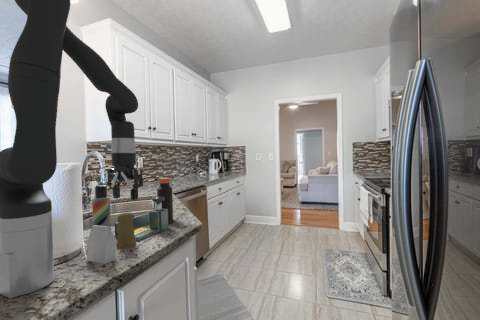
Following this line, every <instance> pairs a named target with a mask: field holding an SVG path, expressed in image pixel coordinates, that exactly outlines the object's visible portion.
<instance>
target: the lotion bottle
mask: <svg viewBox="0 0 480 320" xmlns="http://www.w3.org/2000/svg"><path fill="white" fill-rule="evenodd" d="M94 195H95V196H94V198H92V200H91V201H92V203H91V204H92V225H98V226H106V227H110V228H111V229H112V223H111V220H112V219H111V197H110V196H108V185H106V184H105V185H104V184H96V185H95V187H94Z"/></svg>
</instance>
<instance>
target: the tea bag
mask: <svg viewBox="0 0 480 320" xmlns="http://www.w3.org/2000/svg"><path fill="white" fill-rule="evenodd" d="M86 247H87V249H86V251H87V262H93V263H98V264H104V265H106V264H108V263H110V262H112V261H115V259H116V258H117V251H116V249H117V244H116V237H115V234H114V233H113V231H112V227H111V228H110V227H106V226H98V225H93V224H92V225H91V228H90V232H89V235H88V237H87V240H86Z"/></svg>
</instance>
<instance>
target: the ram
mask: <svg viewBox="0 0 480 320" xmlns="http://www.w3.org/2000/svg"><path fill="white" fill-rule="evenodd" d="M151 200H152V202H153V203H155V204H154V205H155V208H154V209H156V211H162V202H161V201H164V197H157V196H154V197H151Z"/></svg>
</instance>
